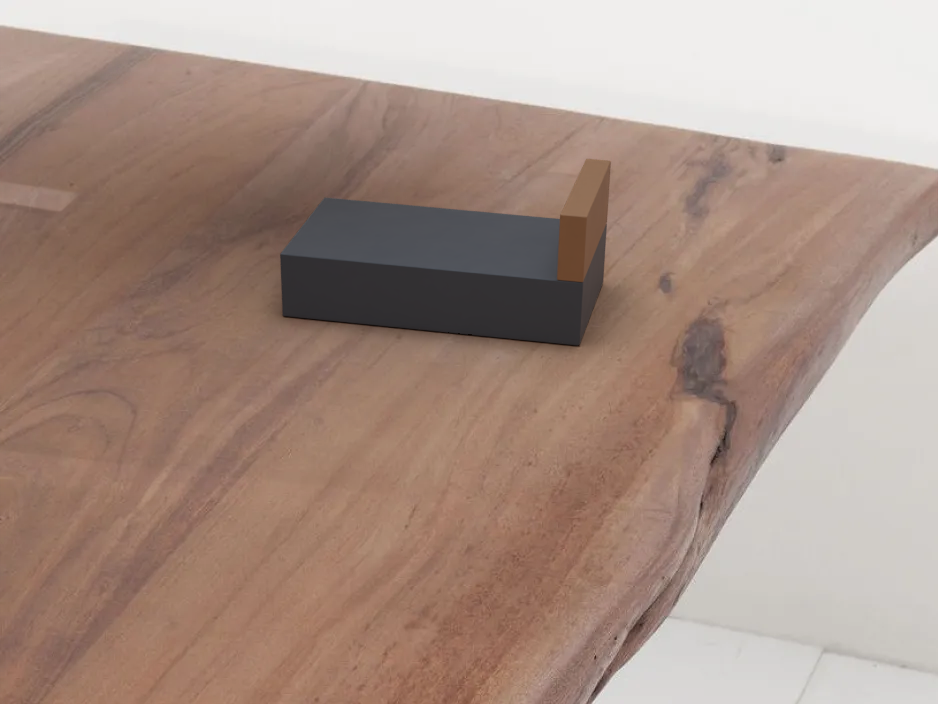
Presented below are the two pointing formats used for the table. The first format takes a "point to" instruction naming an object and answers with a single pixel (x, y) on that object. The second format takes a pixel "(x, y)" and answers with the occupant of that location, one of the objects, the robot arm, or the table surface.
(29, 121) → the table surface
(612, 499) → the table surface
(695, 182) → the table surface
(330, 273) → the grey block with backstop
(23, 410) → the table surface
